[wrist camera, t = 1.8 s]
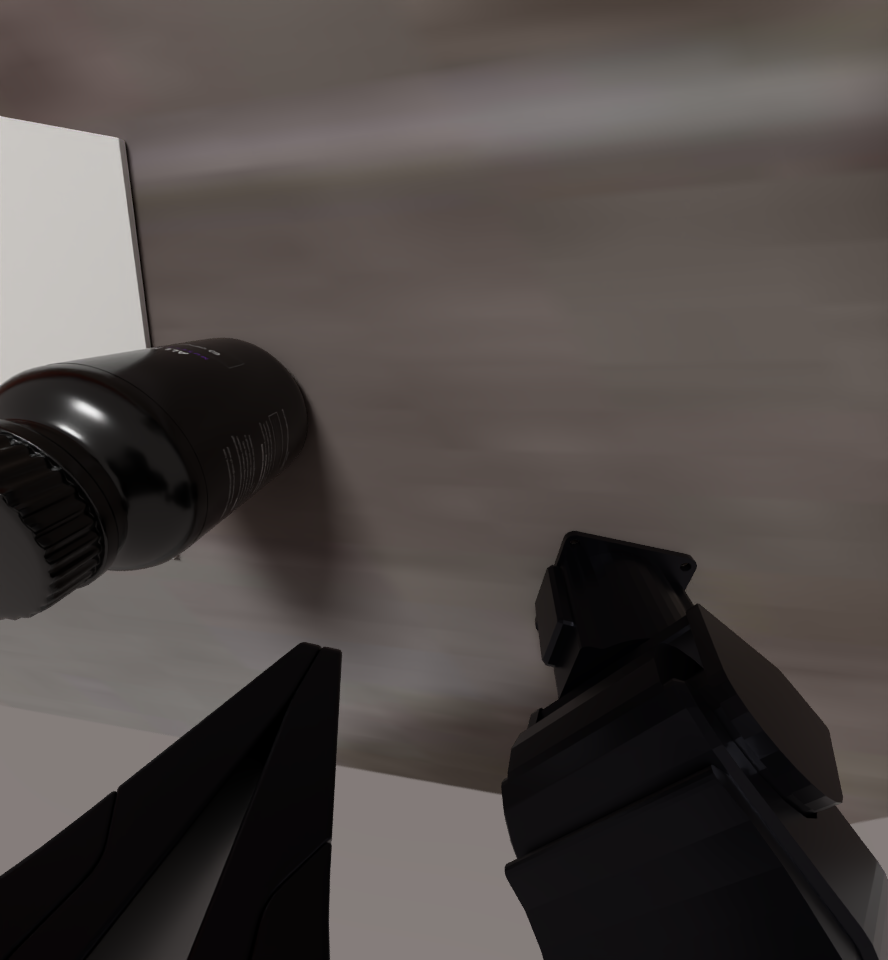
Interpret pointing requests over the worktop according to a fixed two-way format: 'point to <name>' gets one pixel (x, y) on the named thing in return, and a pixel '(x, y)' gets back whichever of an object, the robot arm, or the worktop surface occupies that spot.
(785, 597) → the worktop surface
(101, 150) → the mat
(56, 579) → the supplement bottle
